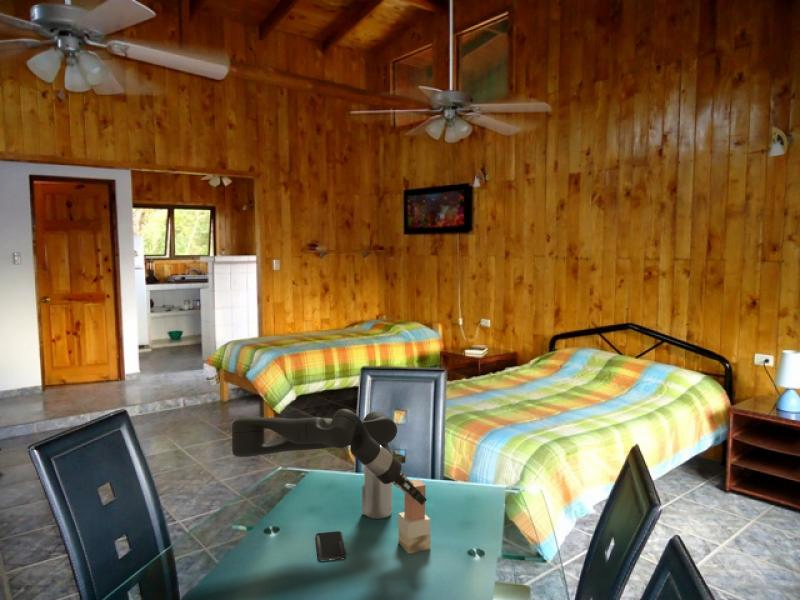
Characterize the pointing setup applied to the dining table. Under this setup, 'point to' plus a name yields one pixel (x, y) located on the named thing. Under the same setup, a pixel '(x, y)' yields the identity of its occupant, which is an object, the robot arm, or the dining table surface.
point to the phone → (330, 545)
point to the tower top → (414, 526)
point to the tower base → (414, 542)
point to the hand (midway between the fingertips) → (417, 496)
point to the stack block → (415, 503)
